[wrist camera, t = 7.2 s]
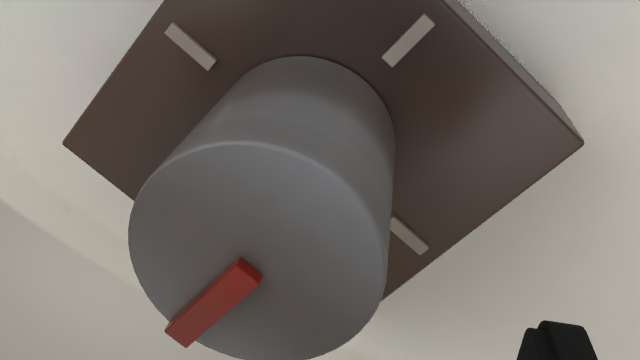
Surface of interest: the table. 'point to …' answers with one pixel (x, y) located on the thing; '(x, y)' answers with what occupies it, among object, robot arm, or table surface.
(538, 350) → the robot arm
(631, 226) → the table surface
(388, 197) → the dial
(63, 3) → the table surface
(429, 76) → the panel
